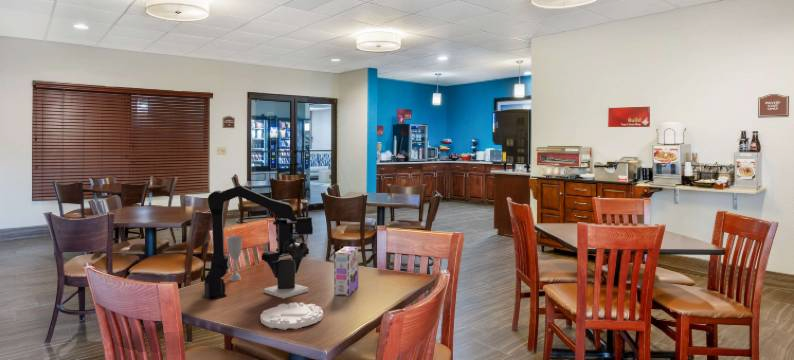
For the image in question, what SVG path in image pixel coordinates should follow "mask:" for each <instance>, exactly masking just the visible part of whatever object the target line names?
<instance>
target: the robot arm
mask: <svg viewBox="0 0 794 360" xmlns="http://www.w3.org/2000/svg"><path fill="white" fill-rule="evenodd" d="M238 197H239V198H241V199H245V200H247V201H249V202H250V203H253V204H256V205H258V206H261V207H263V208H266V209H267V210H269V211H270V212H271V213H273V214H274V215H276V216H277V217H276V218H275V220H273V223H272V225H274V226H277V237H276V239H275V241H277V243H278V244H277V248H275V249H276V250H275V251H265V252H263V253H262V254H261V261H264V263H267V265H268V266H269V268H270V270H271V272H272V274H273V276H274V278H276V279H277V278H278V264H279V262H280V261H278V260H279V259H280V258H282V257H287V256H290V257H291V258H292V259H294V261H295V274H298V271H299V267H300V264H301V262H302V260H303V259H304V258H306V257H307V255H309V254H310V249H309V247H308V246H307V245H308V244H307V243H306V242H305V241H304V242H299V243H297V240H296V237H294V233H296V234H297V236H306V235H307V236H308V235H310V236H312V235H313V231H314V229H313V227H314V226H313V219H312V216H308V217H298V216H297V214H295V212H294V209H293V206H292V204H291V203H289V202H286V201H281V200H276V199H274V198H273V199H272V198H269V197H267V196H265V195H263V194H261V193H258V192H256V191H253V190H251V189H249V188H247V187H245V186H243V185H242V184H240V185H237V186H235V187H231V188H228V189H225V190H223V191H222V190H214V191H213V192H210V194H208V196H207V203H208V208H209V211H210V215H211V223H212V251H213V253H212V259H211V263H210V268H209V271H207V273H206V275H205V276H204V277H203V278H204V282H203V283H204V285H203V286H204V294H202V298H205V299H208V300H210V301H211V300H212V301H213V300H217V299H219V298H223V297H227V294H226V283H225V279H224V278H223V277H224V276H226V273H227V271H228V270H229V268H230V266H231V263H230V258H231V256H230V255H229V254H228V255H227V254H226V251H225V234H224V233H225V232H224V231H225V230H224V229H225V228H224V227H225V226H224V214H225V213H224V212H225V209H226V202H228V201H230V200H233V199H235V198H238ZM278 217H279V218H281V219H279V218H278ZM288 220H289V221H288Z"/></svg>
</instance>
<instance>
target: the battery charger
mask: <svg viewBox="0 0 794 360" xmlns="http://www.w3.org/2000/svg"><path fill="white" fill-rule="evenodd" d="M278 261H280V262H279V264H278V278H276V280H277V284H276V286H277V288H278V289H288V288H295V284H296V273H295V261H294V259H292V257H291V258H287V257H286V258H279V260H278Z"/></svg>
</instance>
